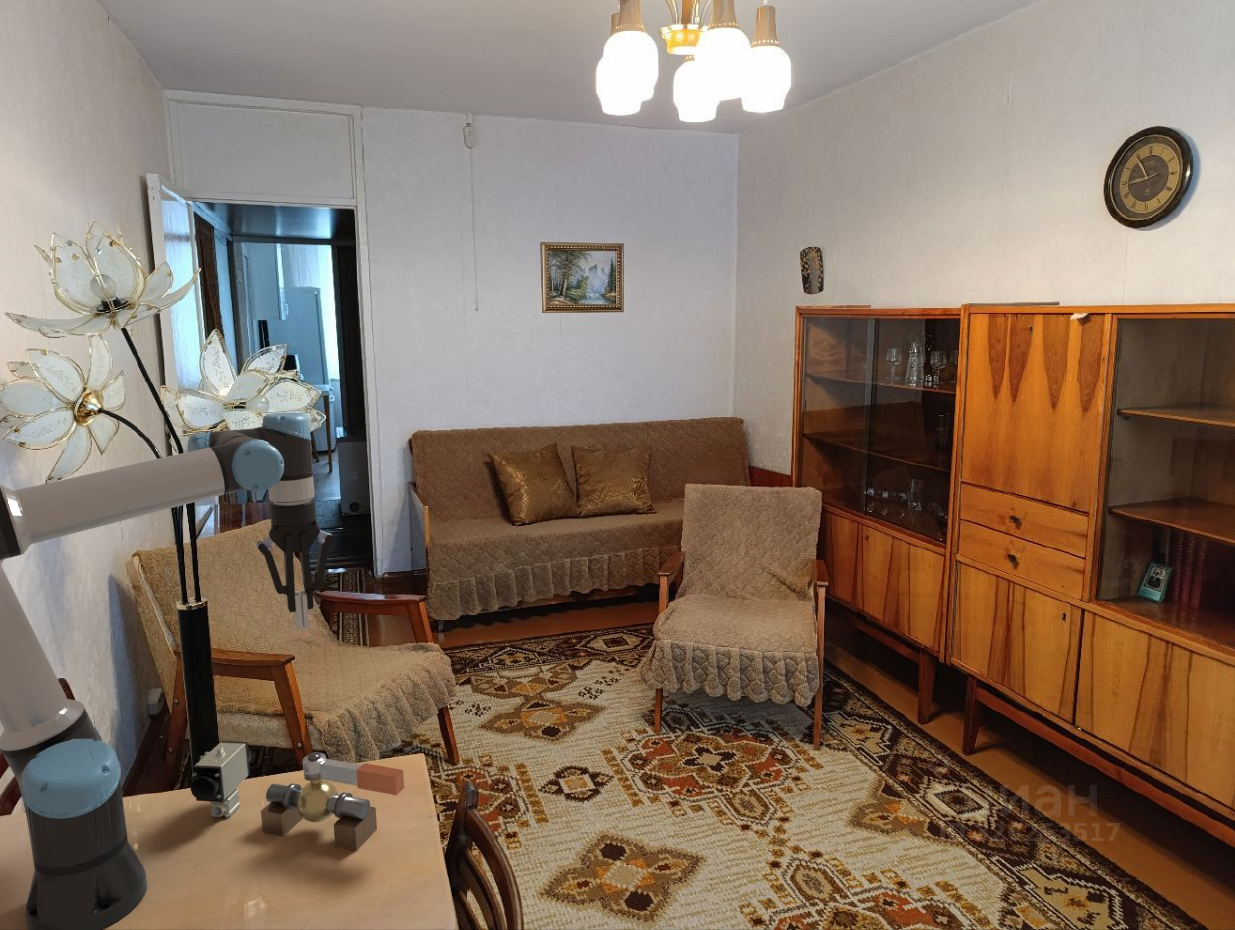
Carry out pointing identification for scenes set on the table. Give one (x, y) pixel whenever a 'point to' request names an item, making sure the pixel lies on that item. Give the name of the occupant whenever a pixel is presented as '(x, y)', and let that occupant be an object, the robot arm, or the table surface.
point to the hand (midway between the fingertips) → (302, 627)
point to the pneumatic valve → (221, 776)
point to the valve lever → (353, 774)
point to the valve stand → (319, 811)
